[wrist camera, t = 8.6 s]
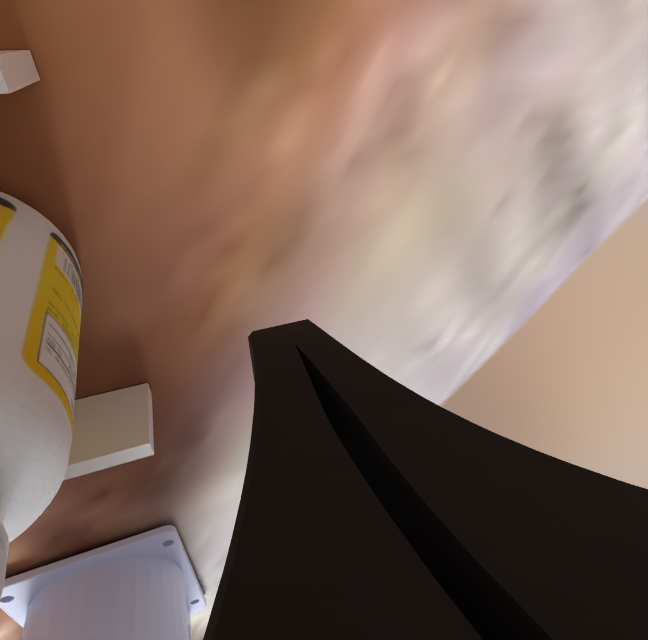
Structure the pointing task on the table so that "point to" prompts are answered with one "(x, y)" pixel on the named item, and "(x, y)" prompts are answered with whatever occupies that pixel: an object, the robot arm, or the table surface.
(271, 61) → the table surface
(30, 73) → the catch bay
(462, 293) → the table surface
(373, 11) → the table surface
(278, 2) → the table surface
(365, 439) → the robot arm
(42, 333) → the supplement bottle
